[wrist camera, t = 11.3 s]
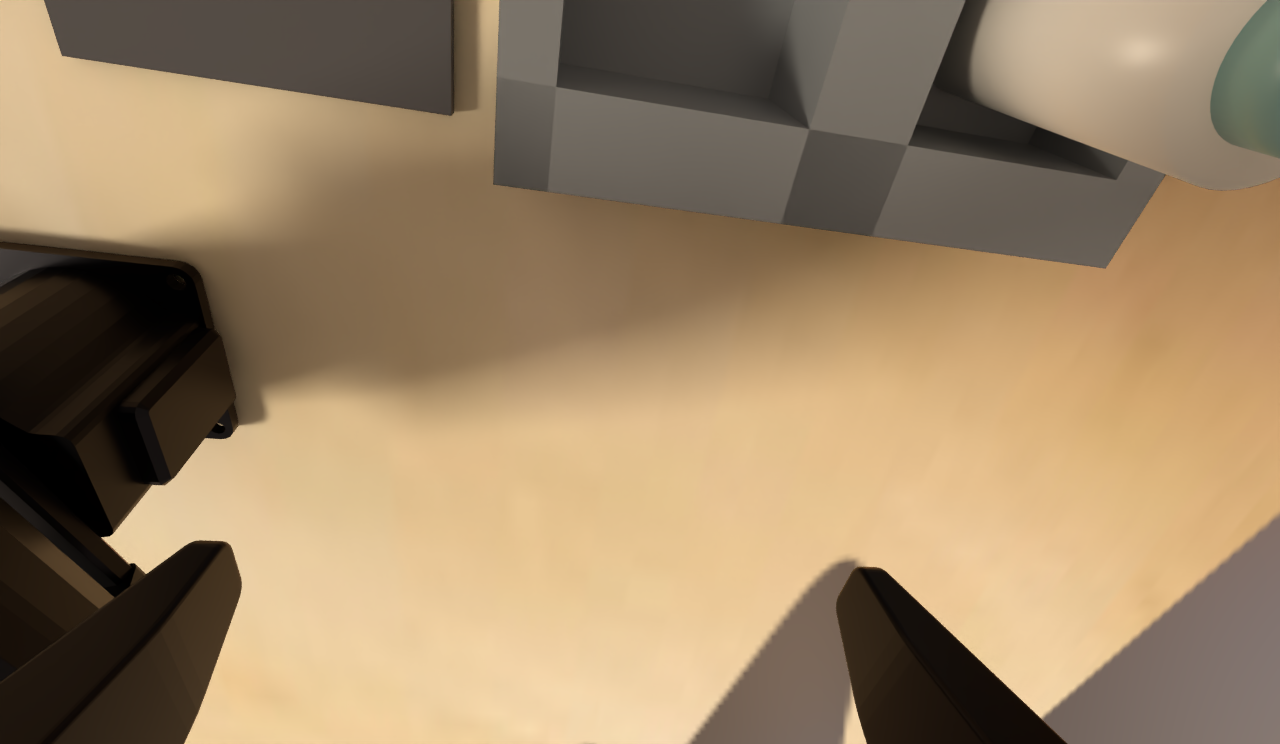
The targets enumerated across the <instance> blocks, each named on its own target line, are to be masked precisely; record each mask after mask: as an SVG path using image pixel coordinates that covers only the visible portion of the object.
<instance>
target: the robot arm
mask: <svg viewBox="0 0 1280 744" xmlns="http://www.w3.org/2000/svg"><path fill="white" fill-rule="evenodd" d="M174 275H178V276H180V277H181V278H183V279H184V281H185V282H186V284H183V283H180V282H179V281H177V280H176V278H175V277H174ZM235 398H236V394H235V390H234V386H233V382H232V378H231V374H230V370H229V366H228V362H227V358H226V354H225V350H224V346H223V342H222V338H221V336H220V335H219V333H218V332H217V331H216V330H215V327H214V323H213V319H212V316H211V312H210V308H209V304H208V300H207V296H206V292H205V288H204V284H203V280H202V277H201V275H200V273H199V272H198V271H197V270H196V269H195V268H194V267H193V266H191V265H190V264H188V263H185V262H181V261H175V260H165V259H156V258H147V257H137V256H128V255H119V254H110V253H100V252H91V251H82V250H72V249H63V248H54V247H45V246H35V245H26V244H17V243H7V242H0V744H184V743H185V740H186V738H187V736H188V734H189V732H190V730H191V728H192V725H193V723H194V721H195V719H196V716H197V714H198V712H199V709H200V707H201V704H202V701H203V699H204V696H205V694H206V691H207V688H208V685H209V682H210V679H211V677H212V674H213V671H214V668H215V665H216V663H217V660H218V657H219V654H220V651H221V648H222V646H223V643H224V640H225V637H226V634H227V632H228V629H229V626H230V623H231V620H232V618H233V615H234V612H235V609H236V606H237V603H238V601H239V598H240V594H241V588H242V581H241V576H240V573H239V570H238V566H237V563H236V560H235V557H234V553H233V550H232V548H231V545H229V544H228V543H227V542H224V541H202V540H200V541H194V542H191V543H189V544H187V545H186V546H184V547H183V548H182V549H180V550H179V551H177V552H176V553H175V554H173V555H172V556H171V557H169V558H168V559H167V560H165V561H164V562H162V563H161V564H160V565H158V566H157V567H156V568H154V569H153V570H152V571H150V572H149V573H147V574H145V573H144V572H143V571H142V570H141V569H140V568H139V567H138V566H137V565H136V564H134V563H131V564H129V563H128V562H126V561H125V560H124V559H123V558H122V557H121V556H120V555H119V554H118V553H117V552H116V551H115V550H114V549H113V548H112V547H111V546H110V545H109V544H108V543H106V542H105V541H104V540H103V539H102V538H101V537H108V536H111V535H112V534H113V533H114V532H115V531H116V529H117V528H118V527H119V526H120V524H121V523H122V522H123V521H124V519H125V518H126V517H127V516H128V514H129V513H130V512H131V511H132V510H133V508H134V507H135V506H136V505H137V503H138V502H139V501H140V500H141V498H142V497H143V496H144V495H145V493H146V492H147V491H148V490H149V488H150V487H151V486H152V485H166V484H167V483H168V482H169V481H171V480H172V479H173V478H174V477H175V476H176V475H177V473H178V472H179V471H180V470H181V468H182V467H183V466H184V464H185V463H186V462H187V461H188V459H189V458H190V457H191V455H192V454H193V453H194V451H195V450H196V449H197V448H198V446H199V445H200V444H201V442H202V441H203V440H204V439H205V438H213V439H226V438H228V437H230V436H231V435H232V434H233V432H234V431H235V430H236V428H237V427H238V418H237V414H236V410H235V406H234V402H233V401H234V400H235ZM217 422H218V423H221V424H222V425H223V426H221V425H219V424H217ZM836 613H837V618H838V623H839V628H840V633H841V638H842V642H843V647H844V652H845V656H846V662H847V667H848V671H849V676H850V681H851V686H852V691H853V696H854V700H855V704H856V708H857V712H858V716H859V719H860V723H861V726H862V729H863V733H864V736H865V739H866V742H867V744H1067V743H1066V742H1065V741H1064V740H1063V739H1062V738H1061V737H1060V736H1059V735H1058V734H1057V733H1056V732H1055V731H1054V730H1052V729H1051V728H1050V727H1049V726H1048V725H1047V724H1046V723H1045V722H1044V721H1043V720H1042V719H1041V718H1040V717H1039V716H1038V715H1037V714H1036V713H1035V712H1034V711H1032V710H1031V709H1030V708H1029V707H1028V706H1027V705H1026V704H1025V703H1024V702H1023V701H1022V700H1021V699H1020V698H1019V697H1018V696H1017V695H1016V694H1015V693H1014V692H1012V691H1011V690H1010V689H1009V688H1008V687H1007V686H1006V685H1005V684H1004V683H1003V682H1002V681H1001V680H1000V679H999V678H998V677H997V676H996V675H995V674H994V673H992V672H991V671H990V670H989V669H988V668H987V667H986V666H985V665H984V664H983V663H982V662H981V661H980V660H979V659H978V658H977V657H976V656H975V655H974V654H972V653H971V652H970V651H969V650H968V649H967V648H966V647H965V646H964V645H963V644H962V643H961V642H960V641H959V640H958V639H957V638H956V637H955V636H954V635H952V634H951V633H950V632H949V631H948V630H947V629H946V628H945V627H944V626H943V625H942V624H941V623H940V622H939V621H938V620H937V619H936V618H935V617H934V616H932V615H931V614H930V613H929V612H928V611H927V610H926V609H925V608H924V607H923V606H922V605H921V604H920V603H919V602H918V601H917V600H916V599H915V598H914V597H912V596H911V595H910V594H909V593H908V592H907V591H906V590H905V589H904V588H903V587H902V586H901V585H900V584H899V583H898V582H897V581H896V580H895V579H894V578H892V577H891V576H890V575H889V574H888V573H887V572H886V571H885V570H883V569H881V568H877V567H857V568H855V569H854V570H853V571H852V572H851V574H850V576H849V578H848V580H847V581H846V583H845V585H844V587H843V589H842V590H841V592H840V594H839V596H838V598H837V602H836Z"/></svg>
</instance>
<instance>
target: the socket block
mask: <svg viewBox="0 0 1280 744" xmlns="http://www.w3.org/2000/svg"><path fill="white" fill-rule="evenodd" d="M965 1H966V0H500V2H499V32H498V61H497V91H496V120H495V150H494V179H493V184H494V185H501V186H509V187H516V188H523V189H530V190H538V191H545V192H552V193H559V194H567V195H574V196H581V197H589V198H596V199H603V200H610V201H618V202H625V203H632V204H640V205H647V206H654V207H661V208H669V209H676V210H683V211H691V212H698V213H705V214H712V215H720V216H727V217H734V218H742V219H749V220H756V221H763V222H771V223H778V224H785V225H793V226H800V227H807V228H814V229H822V230H829V231H836V232H844V233H851V234H858V235H865V236H873V237H880V238H887V239H895V240H902V241H909V242H916V243H924V244H931V245H938V246H946V247H953V248H960V249H967V250H975V251H982V252H989V253H997V254H1004V255H1011V256H1018V257H1026V258H1033V259H1040V260H1048V261H1055V262H1062V263H1069V264H1077V265H1084V266H1091V267H1099V268H1106V267H1107V265H1108V264H1109V262H1110V261H1111V259H1112V258H1113V256H1114V255H1115V253H1116V251H1117V250H1118V248H1119V247H1120V245H1121V244H1122V242H1123V240H1124V239H1125V237H1126V236H1127V234H1128V233H1129V231H1130V230H1131V228H1132V226H1133V225H1134V223H1135V222H1136V220H1137V219H1138V217H1139V216H1140V214H1141V212H1142V211H1143V209H1144V208H1145V206H1146V205H1147V203H1148V202H1149V200H1150V198H1151V197H1152V195H1153V194H1154V192H1155V191H1156V189H1157V187H1158V186H1159V184H1160V183H1161V181H1162V180H1163V178H1164V177H1165V175H1166V174H1163V173H1161V172H1158V171H1155V170H1153V169H1150V168H1147V167H1145V166H1142V165H1139V164H1137V163H1134V162H1131V161H1129V160H1126V159H1123V158H1121V157H1118V156H1115V155H1113V154H1110V153H1107V152H1105V151H1102V150H1099V149H1097V148H1094V147H1091V146H1089V145H1086V144H1083V143H1081V142H1078V141H1075V140H1073V139H1070V138H1067V137H1065V136H1062V135H1059V134H1057V133H1054V132H1051V131H1049V130H1046V129H1043V128H1040V127H1038V126H1035V125H1032V124H1030V123H1027V122H1024V121H1022V120H1019V119H1016V118H1014V117H1011V116H1008V115H1006V114H1003V113H1000V112H998V111H995V110H992V109H990V108H987V107H984V106H982V105H979V104H976V103H974V102H971V101H968V100H966V99H963V98H960V97H958V96H955V95H952V94H950V93H947V92H945V91H943V90H941V89H939V88H937V87H936V86H935V85H933V81H934V79H935V76H936V74H937V71H938V69H939V66H940V64H941V61H942V59H943V56H944V53H945V51H946V48H947V46H948V43H949V41H950V38H951V36H952V33H953V31H954V28H955V26H956V23H957V21H958V18H959V16H960V13H961V11H962V8H963V6H964V3H965Z"/></svg>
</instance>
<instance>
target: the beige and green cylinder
mask: <svg viewBox="0 0 1280 744" xmlns="http://www.w3.org/2000/svg"><path fill="white" fill-rule="evenodd" d="M933 85H935V86H936V87H937V88H939V89H941V90H943V91H945V92H947V93H950V94H952V95H955V96H958V97H960V98H963V99H966V100H968V101H971V102H974V103H976V104H979V105H982V106H984V107H987V108H990V109H992V110H995V111H998V112H1000V113H1003V114H1006V115H1008V116H1011V117H1014V118H1016V119H1019V120H1022V121H1024V122H1027V123H1030V124H1032V125H1035V126H1038V127H1040V128H1043V129H1046V130H1049V131H1051V132H1054V133H1057V134H1059V135H1062V136H1065V137H1067V138H1070V139H1073V140H1075V141H1078V142H1081V143H1083V144H1086V145H1089V146H1091V147H1094V148H1097V149H1099V150H1102V151H1105V152H1107V153H1110V154H1113V155H1115V156H1118V157H1121V158H1123V159H1126V160H1129V161H1131V162H1134V163H1137V164H1139V165H1142V166H1145V167H1147V168H1150V169H1153V170H1155V171H1158V172H1161V173H1163V174H1166V175H1169V176H1171V177H1174V178H1177V179H1180V180H1182V181H1185V182H1188V183H1190V184H1193V185H1196V186H1199V187H1202V188H1206V189H1211V190H1220V191H1223V190H1238V189H1244V188H1249V187H1253V186H1257V185H1260V184H1264V183H1267V182H1269V181H1272V180H1274V179H1277V178H1280V0H966V1H965V3H964V6H963V8H962V11H961V13H960V16H959V18H958V21H957V23H956V26H955V28H954V31H953V33H952V36H951V38H950V41H949V43H948V46H947V48H946V51H945V53H944V56H943V59H942V61H941V64H940V66H939V69H938V71H937V74H936V76H935V79H934V81H933Z"/></svg>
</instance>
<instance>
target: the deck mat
mask: <svg viewBox="0 0 1280 744" xmlns="http://www.w3.org/2000/svg"><path fill="white" fill-rule="evenodd" d="M44 1H45V5H46V8H47V11H48V14H49V17H50V20H51V23H52V26H53V29H54V33H55V36H56V39H57V42H58V45H59V48H60V51H61V54H62V56H67V57H73V58H80V59H86V60H93V61H99V62H106V63H112V64H119V65H125V66H132V67H138V68H145V69H151V70H158V71H164V72H171V73H177V74H184V75H190V76H197V77H203V78H210V79H216V80H223V81H229V82H236V83H242V84H249V85H255V86H262V87H268V88H275V89H281V90H288V91H294V92H301V93H307V94H314V95H320V96H327V97H333V98H340V99H346V100H352V101H359V102H365V103H372V104H378V105H385V106H391V107H398V108H404V109H411V110H417V111H424V112H430V113H437V114H443V115H450V116H451V115H452V114H453V113H454V19H453V0H44Z"/></svg>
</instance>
